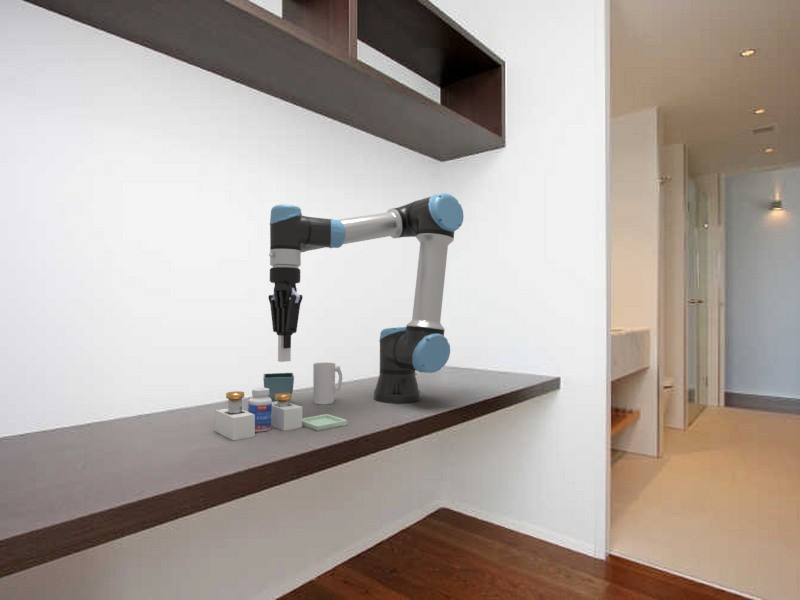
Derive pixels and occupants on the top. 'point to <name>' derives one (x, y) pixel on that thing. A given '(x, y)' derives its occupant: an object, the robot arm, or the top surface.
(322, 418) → the tray
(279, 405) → the plunger
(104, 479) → the top surface
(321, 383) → the mug
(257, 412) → the pill bottle
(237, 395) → the plunger
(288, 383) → the flower pot
